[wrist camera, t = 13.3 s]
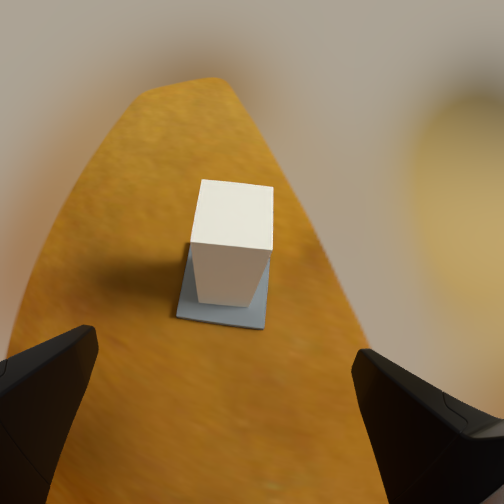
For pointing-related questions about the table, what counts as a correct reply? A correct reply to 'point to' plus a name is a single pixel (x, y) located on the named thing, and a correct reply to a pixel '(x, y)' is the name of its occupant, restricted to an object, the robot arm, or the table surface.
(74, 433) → the table surface
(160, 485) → the table surface
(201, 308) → the slate mat
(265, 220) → the tall block
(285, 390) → the table surface
